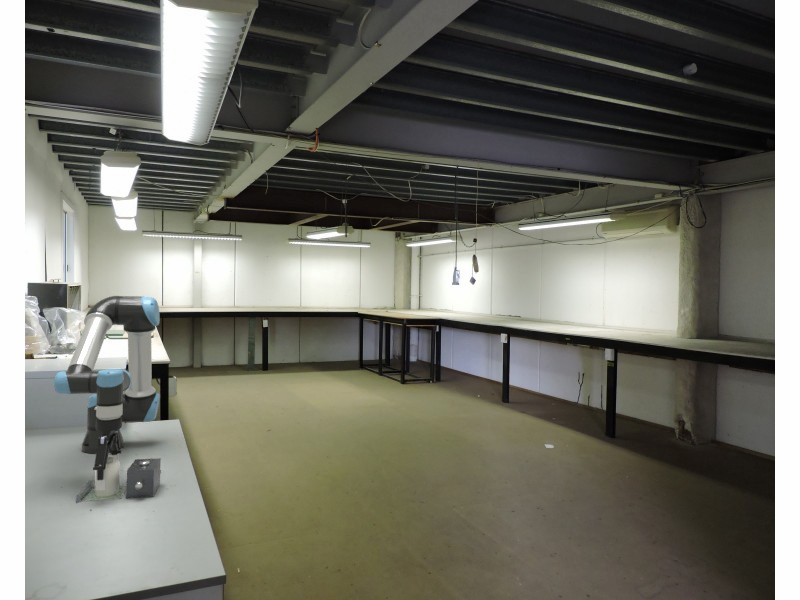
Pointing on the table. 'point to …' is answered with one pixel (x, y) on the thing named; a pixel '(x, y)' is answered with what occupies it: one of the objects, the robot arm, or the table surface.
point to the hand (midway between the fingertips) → (107, 481)
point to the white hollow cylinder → (110, 478)
